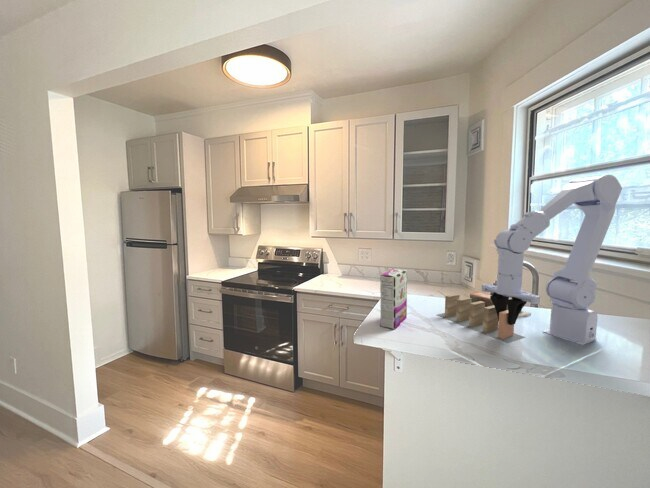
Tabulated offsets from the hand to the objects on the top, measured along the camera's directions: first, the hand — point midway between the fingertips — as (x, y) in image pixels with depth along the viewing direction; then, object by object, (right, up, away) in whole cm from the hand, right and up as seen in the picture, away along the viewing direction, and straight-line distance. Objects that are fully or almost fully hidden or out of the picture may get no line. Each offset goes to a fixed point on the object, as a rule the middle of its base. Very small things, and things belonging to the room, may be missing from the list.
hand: (506, 322), depth 80 cm
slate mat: (-4, -3, +8) cm, 10 cm away
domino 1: (-8, -2, +16) cm, 18 cm away
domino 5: (0, -4, 0) cm, 4 cm away
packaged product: (+11, -3, +23) cm, 26 cm away
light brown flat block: (-2, -4, +4) cm, 6 cm away
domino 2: (-6, -3, +12) cm, 14 cm away
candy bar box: (-29, -4, +12) cm, 31 cm away
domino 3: (-4, -3, +8) cm, 10 cm away
